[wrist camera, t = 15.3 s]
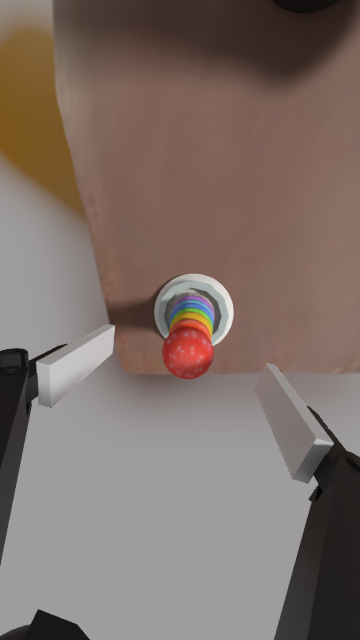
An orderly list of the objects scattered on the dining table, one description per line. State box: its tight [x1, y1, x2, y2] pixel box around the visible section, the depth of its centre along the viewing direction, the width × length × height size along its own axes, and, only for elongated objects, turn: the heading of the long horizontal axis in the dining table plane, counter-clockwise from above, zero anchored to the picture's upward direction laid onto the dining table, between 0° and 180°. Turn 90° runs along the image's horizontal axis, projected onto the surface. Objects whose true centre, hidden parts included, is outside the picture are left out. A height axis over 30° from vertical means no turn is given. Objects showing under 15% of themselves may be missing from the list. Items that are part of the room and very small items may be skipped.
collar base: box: [154, 274, 233, 346], centre depth 32 cm, size 15×15×3 cm
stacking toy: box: [162, 293, 215, 379], centre depth 24 cm, size 8×8×19 cm
